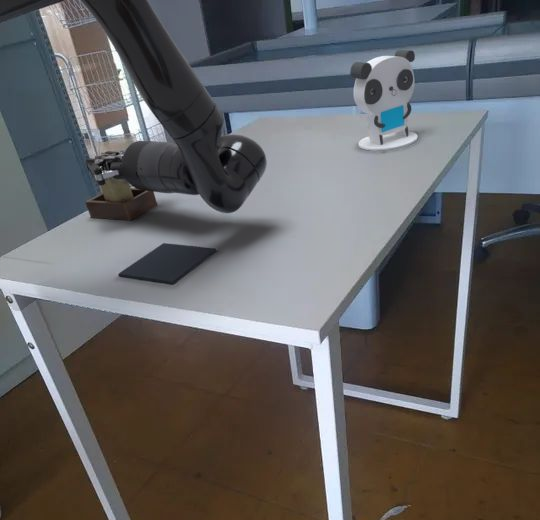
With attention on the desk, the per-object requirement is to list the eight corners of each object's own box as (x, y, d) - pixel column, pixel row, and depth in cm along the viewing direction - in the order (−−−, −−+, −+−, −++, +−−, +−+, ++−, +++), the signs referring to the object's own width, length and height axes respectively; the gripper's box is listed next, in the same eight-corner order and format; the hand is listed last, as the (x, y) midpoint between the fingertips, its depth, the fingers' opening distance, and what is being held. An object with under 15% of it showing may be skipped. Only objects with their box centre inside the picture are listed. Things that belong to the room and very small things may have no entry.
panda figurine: (376, 155, 101) (372, 65, 92) (344, 145, 110) (337, 62, 101) (430, 138, 104) (430, 49, 96) (394, 129, 113) (391, 47, 104)
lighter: (105, 210, 100) (85, 155, 95) (122, 203, 102) (104, 148, 97) (124, 216, 96) (105, 158, 90) (142, 208, 98) (125, 151, 92)
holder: (131, 220, 94) (125, 204, 93) (90, 217, 99) (84, 201, 98) (157, 204, 99) (152, 188, 97) (117, 202, 104) (112, 187, 102)
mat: (173, 284, 71) (172, 281, 71) (118, 276, 76) (117, 273, 76) (216, 250, 78) (216, 248, 77) (164, 245, 83) (163, 242, 82)
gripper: (185, 129, 87) (123, 127, 98) (114, 157, 79) (54, 152, 90) (196, 176, 91) (135, 169, 102) (130, 206, 84) (71, 196, 94)
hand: (98, 161), depth 96 cm, fingers closed on lighter, 3 cm apart
